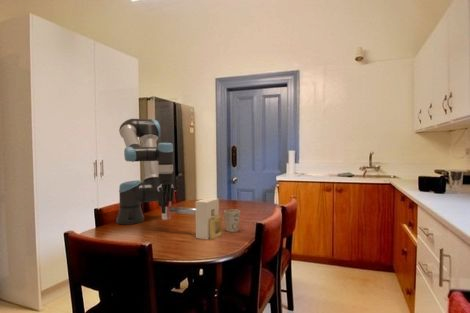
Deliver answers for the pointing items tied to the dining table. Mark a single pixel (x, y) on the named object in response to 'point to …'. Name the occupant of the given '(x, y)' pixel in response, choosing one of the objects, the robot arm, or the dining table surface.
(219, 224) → the spacer
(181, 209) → the shaft
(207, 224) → the block
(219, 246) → the dining table surface
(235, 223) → the mug
